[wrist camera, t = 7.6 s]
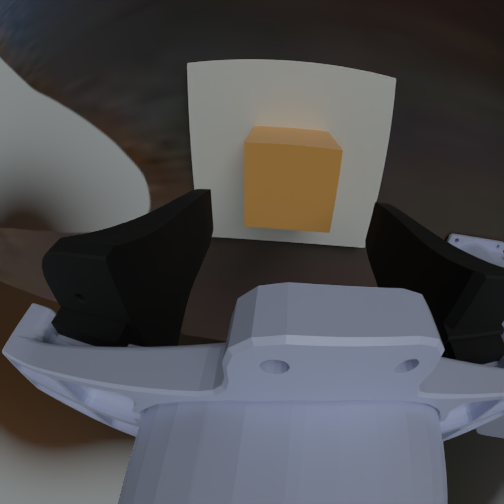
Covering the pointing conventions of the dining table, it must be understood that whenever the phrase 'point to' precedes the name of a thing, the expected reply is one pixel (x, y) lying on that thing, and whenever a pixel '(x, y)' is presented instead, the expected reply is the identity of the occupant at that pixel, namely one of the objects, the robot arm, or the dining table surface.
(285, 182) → the tilted mustard cube
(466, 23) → the dining table surface
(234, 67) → the plate
